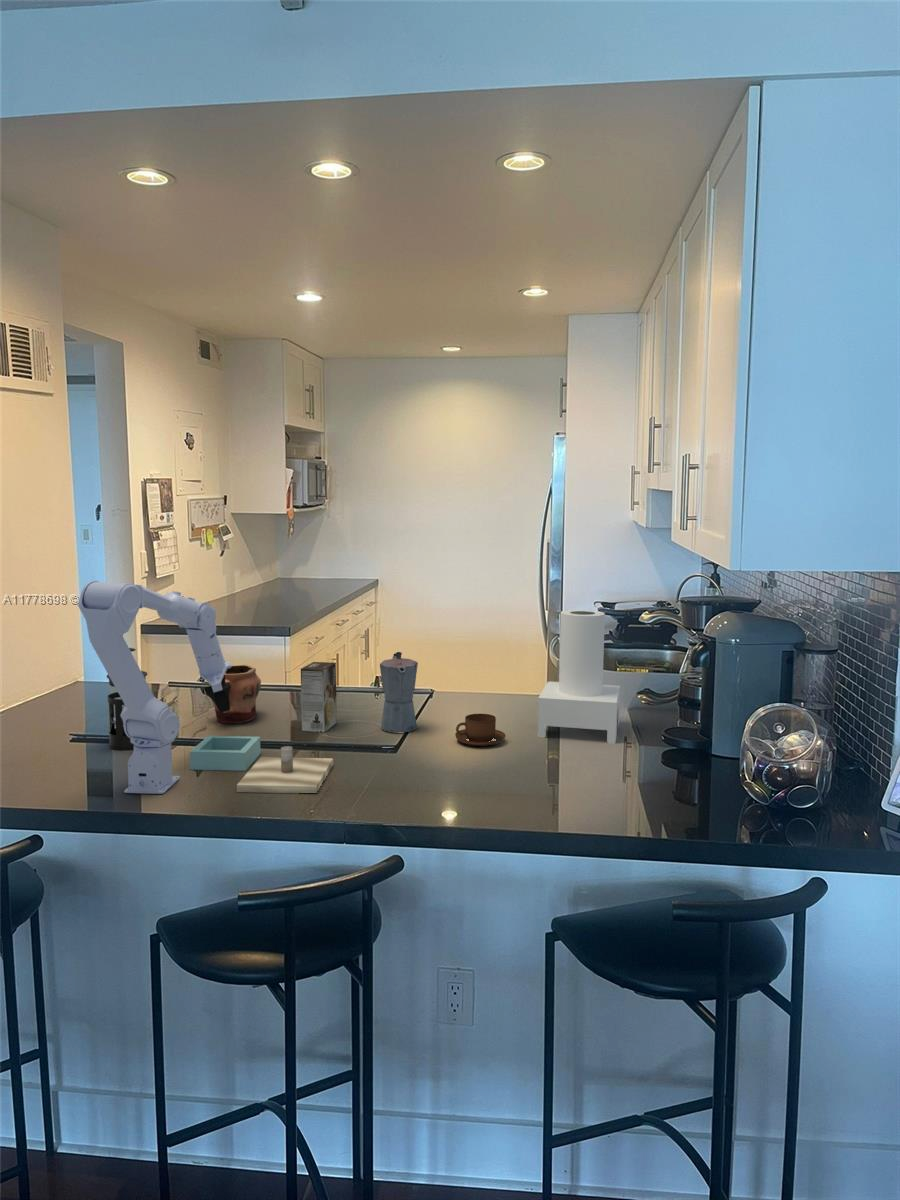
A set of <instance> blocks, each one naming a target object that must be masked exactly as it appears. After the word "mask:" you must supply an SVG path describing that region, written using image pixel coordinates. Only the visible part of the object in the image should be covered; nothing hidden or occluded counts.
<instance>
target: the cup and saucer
mask: <svg viewBox="0 0 900 1200" xmlns="http://www.w3.org/2000/svg"><path fill="white" fill-rule="evenodd" d="M496 721H497V718H496V716H495V715H492V714H490V713H489V714H488V713H471V714H467V715H466V716H465V718H464V721H463V722H459V723H458V724H457V725H456V727H455V730H456V732H455V738H456V739H457V740H458V741H459V742H460V743H462V744H464V745H469V746H475V747H487V746H493V745H496V744H499V743H501V742H503V740H505V738H506V733H505V732H503V731H501V730H498V729H496V728H497V727H496V725H497V724H496V723H497V722H496ZM461 726H464V728H463V729H460V730H459V728H460V727H461ZM493 738H494V739H496V741H491V740H492V739H493ZM466 739H469V741H467V740H466ZM489 741H490V742H489Z"/></svg>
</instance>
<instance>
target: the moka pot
mask: <svg viewBox="0 0 900 1200" xmlns="http://www.w3.org/2000/svg"><path fill="white" fill-rule="evenodd" d="M402 654H403V653H402V652H401V651H397V652H395V653H394V654H393V656H392V658H390V659H384V660H383V661H381V663H379V668H380V679H381V684H382V692H383V693H384V703H383V710H382V717H381V718H382V719H381V725H380V726H381V730H382V729H383V730H382V731H384V732H385V731H389V732H394V733H393V734H395V733H396V732H397V733H398V732H408V733H411V732H414V731H415V730H416V729H417V726H418V725H417V720H416V712H415V705H414V700H413V698H414V691H415V688H416V681H417V680H416V679H417V673H418V666H419V663H418V661H416V660H413V659H410V658H403V657H402Z"/></svg>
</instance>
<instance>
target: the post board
mask: <svg viewBox="0 0 900 1200" xmlns="http://www.w3.org/2000/svg"><path fill="white" fill-rule="evenodd" d="M293 755H294V752H293V746H291V745H287V746H286V745H284V746H281V747H280V757H279V756H278V757H275V756H261V757H259V759H258V760H257V761H256V762H255V763H254V764H253V765H252V767H251V768H250V769H249V770H248V771H247V772H246V773H245V775H244V776H243V777H242V778H241V780H240V781H238V783H237V784H236V792H237V793H255V794H256V793H258V794H259V793H262V794H263V793H264V794H270V793H271V794H299V793H317V794H318V792H319V790H320V789H321V787H322V785H323V784H324V782H325V780H326V778H327V777H328V775H329V773H330V771H331V769H332V768H333V766H334V758H331V757H330V758H329V757H328V758H327V757H323V758H321V757H294V756H293ZM326 776H327V777H326ZM323 781H324V782H323ZM322 783H323V784H322ZM320 786H321V787H320ZM319 788H320V789H319ZM317 791H318V792H317Z"/></svg>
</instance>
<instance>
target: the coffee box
mask: <svg viewBox="0 0 900 1200" xmlns="http://www.w3.org/2000/svg"><path fill="white" fill-rule="evenodd" d="M300 699H301V701H300V703H301V707H300V708H301V731H303V732H314V733H316V732H317V731H318V732H317V733H325V732H324V731H326V730H327V731H328V730H329V729H331V728H332V727H333V726H335V724H337V723H338V716H337V715H338V713H337V711H338V710H337V705H338V704H337V702H338V701H337V662H329V661H328V662H326V661H325V662H324V661H313V662H311V663H309V664H307V665H305V666H304V667H302V668H300ZM320 731H322V732H320ZM327 731H326V732H327Z"/></svg>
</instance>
